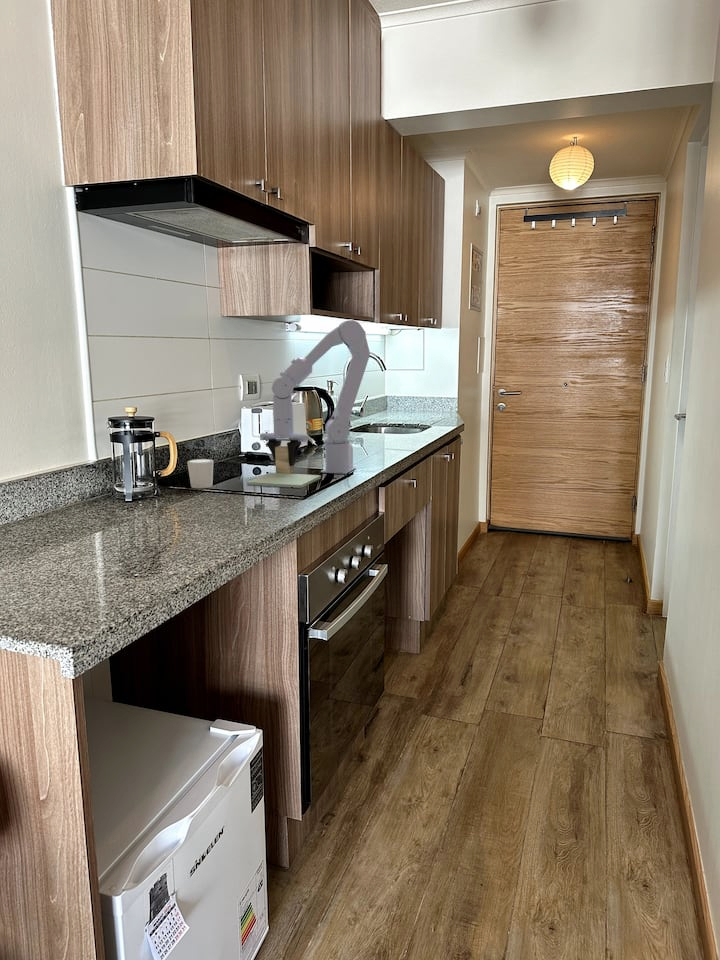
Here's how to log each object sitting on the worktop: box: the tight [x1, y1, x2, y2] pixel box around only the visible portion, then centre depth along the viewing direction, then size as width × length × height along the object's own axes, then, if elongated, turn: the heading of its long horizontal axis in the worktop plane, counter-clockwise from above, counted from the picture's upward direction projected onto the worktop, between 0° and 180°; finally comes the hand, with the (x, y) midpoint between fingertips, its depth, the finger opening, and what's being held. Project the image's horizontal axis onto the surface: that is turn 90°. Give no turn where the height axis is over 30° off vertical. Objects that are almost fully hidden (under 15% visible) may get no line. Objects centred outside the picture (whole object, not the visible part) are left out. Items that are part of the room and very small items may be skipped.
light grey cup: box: [187, 458, 214, 489], centre depth 181 cm, size 7×7×7 cm
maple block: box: [275, 444, 295, 474], centre depth 198 cm, size 4×4×8 cm
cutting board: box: [246, 472, 322, 489], centre depth 187 cm, size 14×16×1 cm
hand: (284, 465), depth 198 cm, fingers closed on maple block, 4 cm apart
